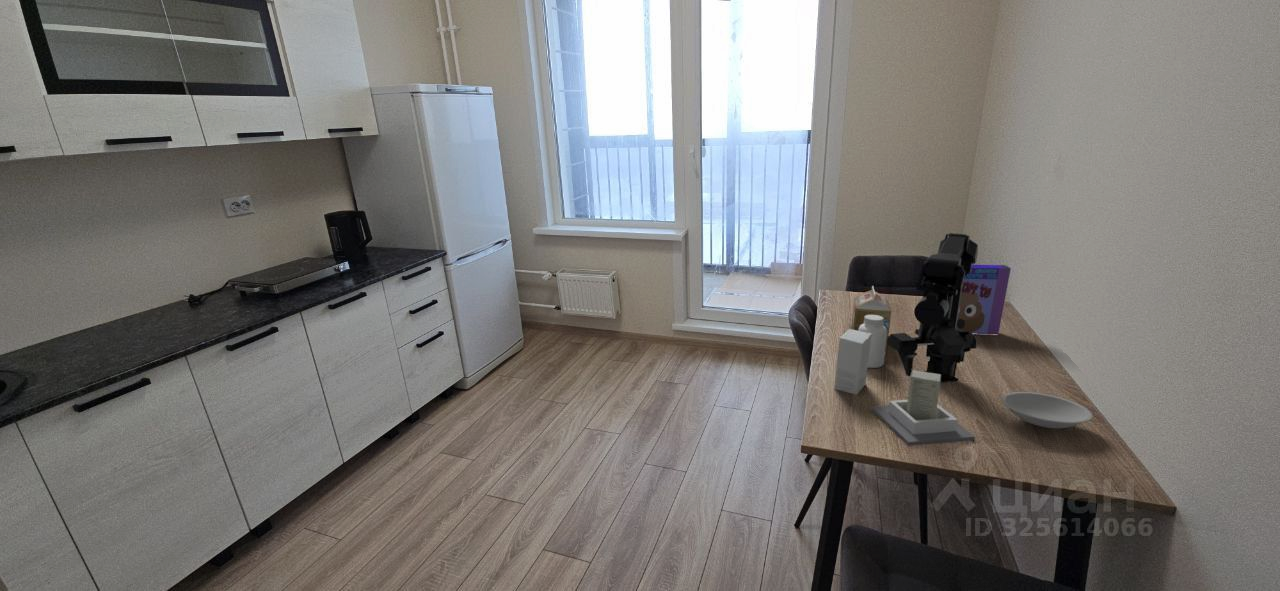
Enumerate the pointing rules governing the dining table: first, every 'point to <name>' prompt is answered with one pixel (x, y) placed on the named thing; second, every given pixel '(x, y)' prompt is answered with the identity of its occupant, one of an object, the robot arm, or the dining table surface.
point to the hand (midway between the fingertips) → (926, 374)
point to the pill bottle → (875, 339)
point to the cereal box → (983, 299)
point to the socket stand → (921, 425)
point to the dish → (1046, 409)
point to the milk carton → (871, 309)
